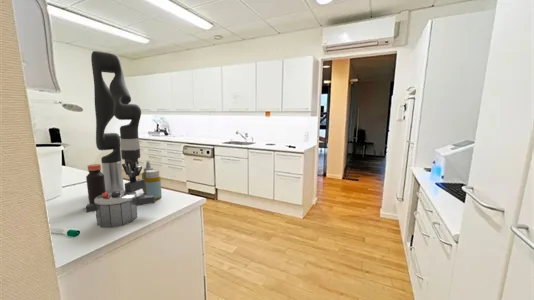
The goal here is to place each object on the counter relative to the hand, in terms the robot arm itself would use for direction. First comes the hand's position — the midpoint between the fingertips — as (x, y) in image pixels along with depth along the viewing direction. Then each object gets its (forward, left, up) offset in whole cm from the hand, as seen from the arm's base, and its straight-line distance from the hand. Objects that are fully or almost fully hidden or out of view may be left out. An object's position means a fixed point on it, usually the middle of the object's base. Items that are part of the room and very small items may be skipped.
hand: (133, 184), depth 108 cm
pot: (+8, -9, -11) cm, 17 cm away
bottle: (-3, +12, -11) cm, 17 cm away
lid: (+6, -8, -2) cm, 10 cm away
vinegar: (-17, -8, -11) cm, 22 cm away
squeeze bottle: (-13, +16, -11) cm, 23 cm away
